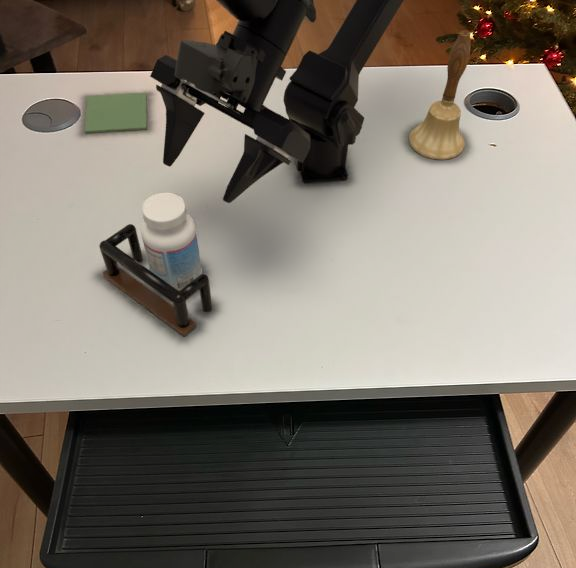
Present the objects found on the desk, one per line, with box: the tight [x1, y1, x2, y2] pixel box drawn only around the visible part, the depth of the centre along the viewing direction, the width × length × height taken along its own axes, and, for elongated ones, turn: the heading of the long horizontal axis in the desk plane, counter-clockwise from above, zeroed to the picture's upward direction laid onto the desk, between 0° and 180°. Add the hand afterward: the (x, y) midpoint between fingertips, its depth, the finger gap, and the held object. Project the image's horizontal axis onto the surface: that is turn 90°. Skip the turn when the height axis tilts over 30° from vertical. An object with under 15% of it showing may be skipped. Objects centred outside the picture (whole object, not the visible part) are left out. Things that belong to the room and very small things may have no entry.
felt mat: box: [84, 92, 148, 134], centre depth 92 cm, size 9×9×1 cm
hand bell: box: [408, 30, 471, 161], centre depth 83 cm, size 8×8×16 cm
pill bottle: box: [140, 192, 203, 291], centre depth 69 cm, size 6×6×11 cm
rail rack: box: [98, 223, 213, 337], centre depth 70 cm, size 5×14×6 cm, turn 50°
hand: (195, 183), depth 67 cm, fingers open, 9 cm apart
